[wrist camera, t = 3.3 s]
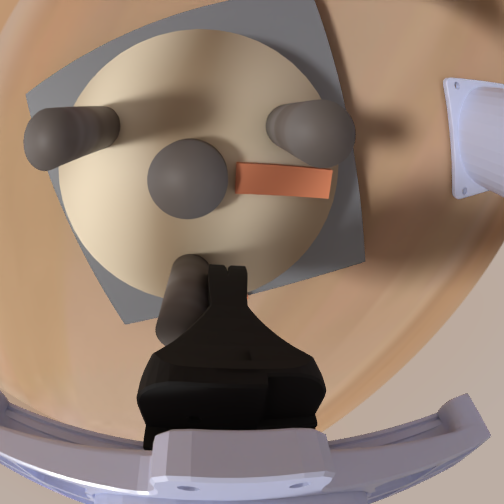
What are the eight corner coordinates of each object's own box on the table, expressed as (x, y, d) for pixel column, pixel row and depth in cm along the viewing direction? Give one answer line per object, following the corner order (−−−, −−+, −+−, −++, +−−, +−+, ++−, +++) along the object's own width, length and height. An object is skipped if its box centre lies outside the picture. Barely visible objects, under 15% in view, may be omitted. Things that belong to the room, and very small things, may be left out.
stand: (305, -3, 9) (312, -12, 8) (358, 253, 16) (367, 264, 15) (35, 94, 10) (22, 94, 9) (128, 314, 17) (123, 327, 16)
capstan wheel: (336, 53, 10) (405, 26, 5) (306, 283, 15) (339, 359, 10) (76, 55, 9) (2, 38, 4) (93, 279, 14) (52, 350, 9)
